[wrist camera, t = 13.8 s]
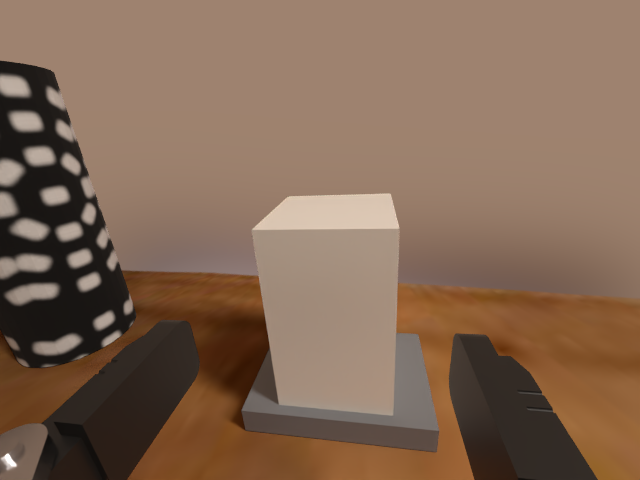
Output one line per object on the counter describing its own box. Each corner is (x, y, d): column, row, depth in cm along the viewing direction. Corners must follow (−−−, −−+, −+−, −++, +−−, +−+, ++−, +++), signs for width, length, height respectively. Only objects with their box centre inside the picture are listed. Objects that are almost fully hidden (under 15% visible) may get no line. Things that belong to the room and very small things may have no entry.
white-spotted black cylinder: (99, 299, 31) (16, 84, 24) (156, 312, 28) (80, 70, 21) (-6, 353, 24) (-169, 71, 17) (55, 380, 21) (-114, 47, 14)
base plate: (245, 430, 16) (224, 334, 14) (281, 343, 23) (270, 267, 20) (436, 452, 15) (448, 346, 12) (416, 351, 21) (422, 269, 19)
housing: (278, 404, 16) (251, 229, 12) (302, 332, 22) (288, 196, 18) (393, 415, 15) (399, 228, 11) (387, 336, 21) (390, 193, 17)
